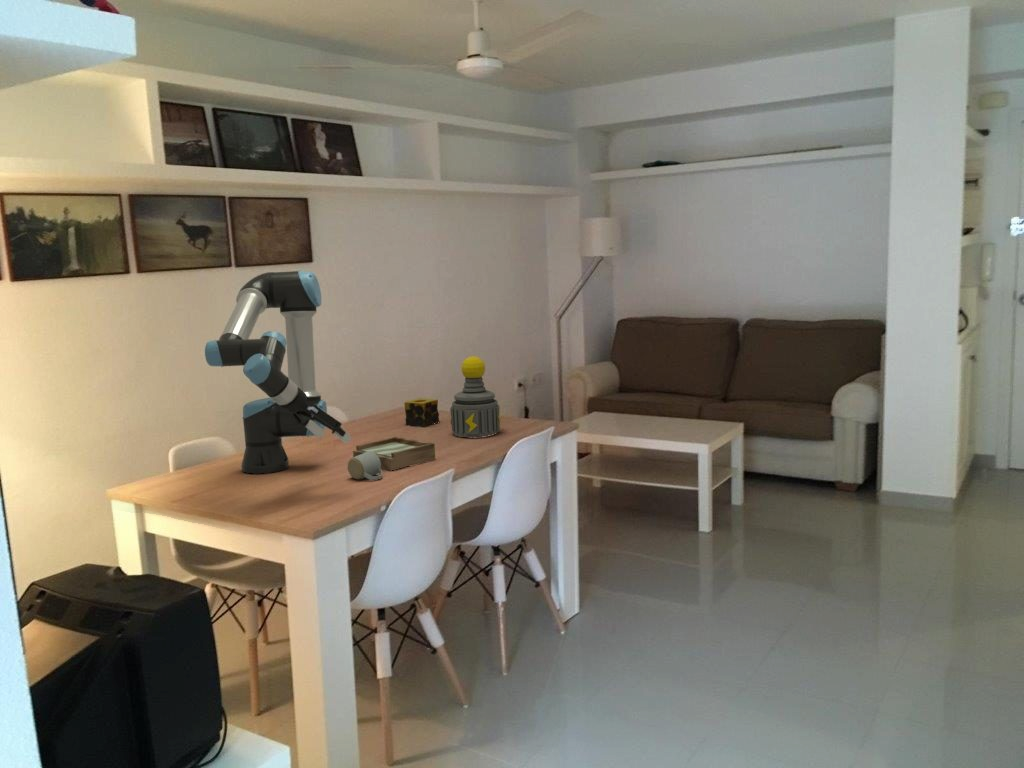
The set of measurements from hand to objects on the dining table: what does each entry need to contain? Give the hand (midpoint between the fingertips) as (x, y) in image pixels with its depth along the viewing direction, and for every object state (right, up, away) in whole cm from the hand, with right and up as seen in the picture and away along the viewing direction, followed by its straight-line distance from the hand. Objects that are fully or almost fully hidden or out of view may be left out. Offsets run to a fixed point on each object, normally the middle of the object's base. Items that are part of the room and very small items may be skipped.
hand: (335, 438), depth 255 cm
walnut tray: (+14, -10, +30) cm, 34 cm away
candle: (+17, -1, +91) cm, 93 cm away
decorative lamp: (+40, -3, +69) cm, 80 cm away
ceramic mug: (+8, -13, +9) cm, 18 cm away
